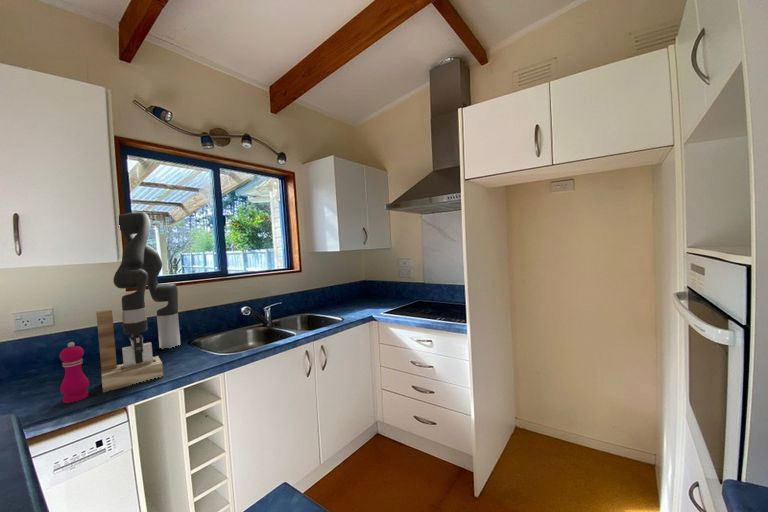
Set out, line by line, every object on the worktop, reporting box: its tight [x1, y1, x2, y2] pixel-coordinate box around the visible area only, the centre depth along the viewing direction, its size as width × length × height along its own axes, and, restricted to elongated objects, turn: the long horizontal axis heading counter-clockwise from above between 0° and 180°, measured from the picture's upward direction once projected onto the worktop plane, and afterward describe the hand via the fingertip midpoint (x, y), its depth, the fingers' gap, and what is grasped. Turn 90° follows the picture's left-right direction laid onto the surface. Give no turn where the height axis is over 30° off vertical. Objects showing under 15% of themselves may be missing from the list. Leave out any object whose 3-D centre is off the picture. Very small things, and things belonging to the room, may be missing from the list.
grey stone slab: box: [121, 342, 154, 369], centre depth 125 cm, size 3×9×12 cm, turn 132°
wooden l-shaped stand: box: [96, 309, 164, 393], centre depth 123 cm, size 12×18×28 cm, turn 132°
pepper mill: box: [59, 341, 90, 404], centre depth 109 cm, size 7×7×20 cm
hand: (138, 360), depth 125 cm, fingers open, 8 cm apart
